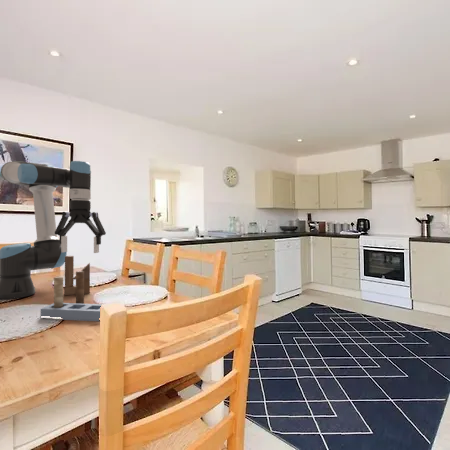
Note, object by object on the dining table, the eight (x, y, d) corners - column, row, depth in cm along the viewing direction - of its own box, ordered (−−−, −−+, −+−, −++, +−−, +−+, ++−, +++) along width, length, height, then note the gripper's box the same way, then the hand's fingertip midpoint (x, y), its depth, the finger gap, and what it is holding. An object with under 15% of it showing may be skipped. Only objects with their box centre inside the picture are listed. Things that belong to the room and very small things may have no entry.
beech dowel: (51, 316, 106) (52, 278, 106) (57, 313, 109) (57, 276, 109) (59, 317, 106) (59, 278, 105) (64, 314, 109) (65, 276, 108)
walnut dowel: (74, 306, 118) (74, 272, 117) (78, 304, 121) (78, 271, 120) (81, 307, 118) (81, 272, 117) (85, 304, 120) (85, 271, 120)
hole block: (40, 318, 104) (40, 308, 103) (55, 311, 112) (55, 302, 111) (100, 321, 102) (100, 311, 102) (110, 313, 110) (110, 304, 110)
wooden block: (89, 293, 139) (89, 255, 138) (64, 295, 134) (64, 256, 134) (89, 291, 142) (89, 254, 142) (64, 293, 137) (64, 255, 137)
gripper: (44, 199, 115) (44, 252, 116) (105, 199, 113) (105, 254, 114) (57, 200, 123) (57, 250, 123) (114, 200, 121) (114, 251, 121)
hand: (80, 252), depth 119 cm, fingers open, 13 cm apart
